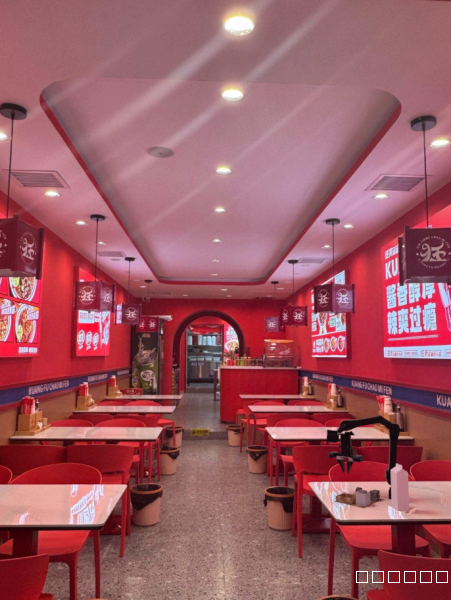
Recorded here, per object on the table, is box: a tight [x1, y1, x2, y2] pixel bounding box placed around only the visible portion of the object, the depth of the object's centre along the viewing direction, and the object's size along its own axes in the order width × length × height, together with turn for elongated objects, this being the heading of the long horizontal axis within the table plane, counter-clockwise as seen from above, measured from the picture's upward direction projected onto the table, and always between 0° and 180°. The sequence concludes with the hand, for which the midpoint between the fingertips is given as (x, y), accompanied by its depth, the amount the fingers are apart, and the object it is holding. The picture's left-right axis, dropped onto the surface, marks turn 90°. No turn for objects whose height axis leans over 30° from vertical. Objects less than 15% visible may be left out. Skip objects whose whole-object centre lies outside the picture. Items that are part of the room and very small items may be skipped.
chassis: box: [334, 489, 384, 509], centre depth 243 cm, size 16×22×6 cm
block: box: [355, 489, 371, 508], centre depth 235 cm, size 5×5×7 cm
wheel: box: [354, 486, 363, 494], centre depth 249 cm, size 6×4×4 cm
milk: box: [390, 462, 410, 514], centre depth 231 cm, size 6×6×22 cm
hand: (346, 473), depth 256 cm, fingers closed
